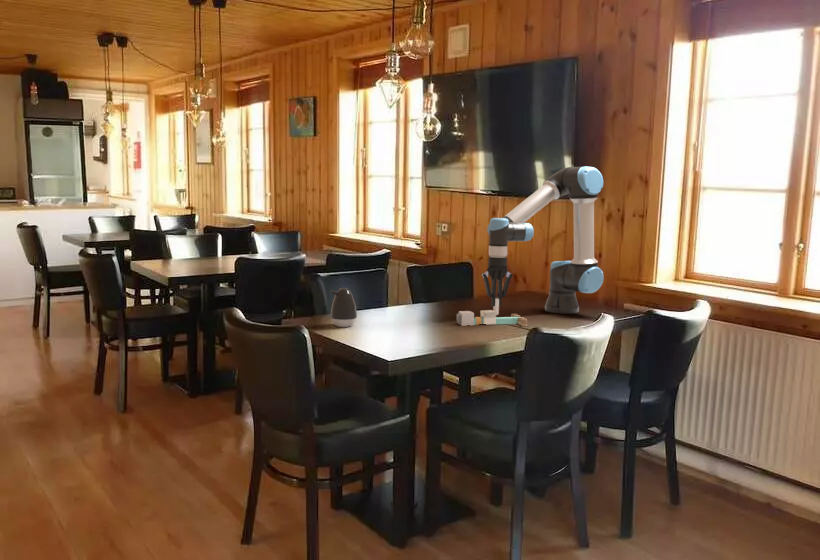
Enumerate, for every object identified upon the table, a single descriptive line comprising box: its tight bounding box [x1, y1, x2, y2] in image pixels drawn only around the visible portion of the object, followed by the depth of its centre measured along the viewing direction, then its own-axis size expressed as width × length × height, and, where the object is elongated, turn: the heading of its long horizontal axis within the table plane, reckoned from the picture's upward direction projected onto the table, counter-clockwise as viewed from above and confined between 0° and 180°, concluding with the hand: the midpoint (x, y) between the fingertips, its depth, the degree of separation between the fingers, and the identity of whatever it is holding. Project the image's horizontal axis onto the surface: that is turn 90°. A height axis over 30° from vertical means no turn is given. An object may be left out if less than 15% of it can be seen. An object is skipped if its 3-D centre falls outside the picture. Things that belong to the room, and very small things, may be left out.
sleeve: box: [479, 309, 497, 325], centre depth 289 cm, size 5×5×5 cm
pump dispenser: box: [330, 287, 358, 328], centre depth 279 cm, size 10×10×15 cm
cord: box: [456, 310, 518, 327], centre depth 289 cm, size 27×5×5 cm, turn 101°
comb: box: [510, 313, 529, 327], centre depth 292 cm, size 2×14×3 cm, turn 11°
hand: (495, 314), depth 290 cm, fingers closed
